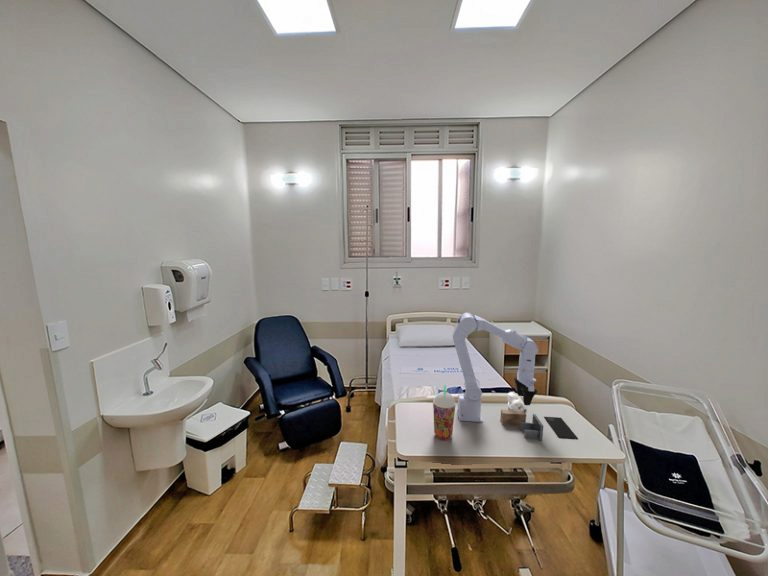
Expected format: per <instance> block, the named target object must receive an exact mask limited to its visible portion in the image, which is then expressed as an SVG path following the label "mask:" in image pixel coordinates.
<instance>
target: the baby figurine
mask: <svg viewBox="0 0 768 576" xmlns="http://www.w3.org/2000/svg"><path fill="white" fill-rule="evenodd" d="M506 396H507V407H508V410H518V411H524V412H525V409H526V405H524V402H523V399H522V396H518V394H517V393H516V392H515V391H509V392H508V393H507V394H506Z"/></svg>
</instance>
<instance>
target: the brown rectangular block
mask: <svg viewBox="0 0 768 576" xmlns="http://www.w3.org/2000/svg"><path fill="white" fill-rule="evenodd" d="M499 421H500V423H501V425H502V426H503V425H505V426H508V425H509V426H519V427H520V422H526V421H527V414H526V412H525V410H524V411H518V410H510V409H503V408H501V409H500V420H499Z"/></svg>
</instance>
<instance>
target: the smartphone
mask: <svg viewBox="0 0 768 576" xmlns="http://www.w3.org/2000/svg"><path fill="white" fill-rule="evenodd" d="M543 418H544V421H545V422H546V423H547V424H548V426H549V427H550V428H551V429H552V431H553V433H554V434H555V436H557V438H558V439H565V440H566V439H567V440H568V439H569V440H579V438H578V437H577V435H576V434H575V432H574V431H573V430H572V428H570V427H569V425H568V424H567V423H566V421H565V420H564V419H563V418H562V417H558V416H555V417H554V416H543Z"/></svg>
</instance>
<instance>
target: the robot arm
mask: <svg viewBox="0 0 768 576" xmlns="http://www.w3.org/2000/svg"><path fill="white" fill-rule="evenodd" d="M474 331H476V332H480V331H486V332H488V333H491V334H492V335H495V336H497V337H499V338H501V340H502V342H503V343H505V344H507V345H508V346H511V347H512V348H513V349H514V348H515V349H516V350H520V351H519V359H518V370H517V372H516V376H517V377H514V378H513V380H514V382H515V386H516V392H517V393H516V394H518V396H520V397H523V399H522V401H523V402H524V405H525V406H530V405H531V403H532V400H533V398H534V397H535V395H536V394H537V393H538V390H537V389H536V388H535V386H534V384H535V383H536V382H537V379H536V378H534V376H535V375H534V373H535V364H536V355H537V354H538V352H539V347H538V345H537V344H536V343H535V342H534V340H532V339H531V338H530V337H529V336H527V335H522V334H520V333H519V332H517V331H516V330H515V329H509V328H508V329H503V328H501V327H500V326H498V325H495V324H494V323H492V322H490V321H488V320H486V319H484V318H483V317H480V316H478V315H475V314H474V315H473V314H472V313H471V312H464V313H462V314H461V315H460V316H459V317H458V318H457V320H456V323H455V326H454V330H453V332H452V340H453V343H454V346H455V347H454V348H455V350H456V353H457V358H458V361H459V365H460V368H461V372H462V375H463V379H464V388H465V391H464V393H463V394H462V395H458V397H457V410H456V412H457V416H458V420H459V421H463V422H464V421H465V422H475V423H476V422H478V423H483V422H484V419H483V417H482V413H481V412H482V395H483V391H482V390H481V386H480V381H479V380H478V379H477V377H476V375H475V372H474V368H473V364H472V361H471V358H470V357H471V356H470V354H469V350H468V346H467V343H466V339H467V337H468V336H469V335H470V334H472V333H473V332H474Z"/></svg>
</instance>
